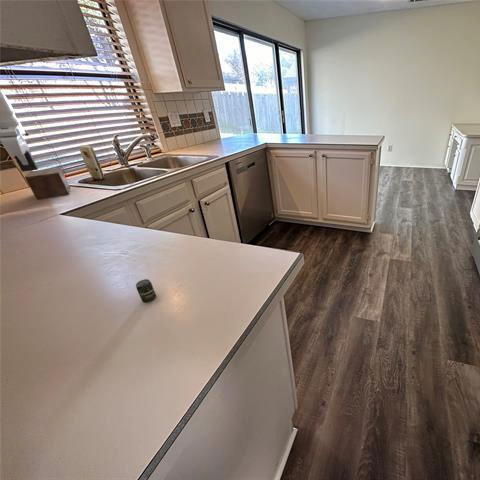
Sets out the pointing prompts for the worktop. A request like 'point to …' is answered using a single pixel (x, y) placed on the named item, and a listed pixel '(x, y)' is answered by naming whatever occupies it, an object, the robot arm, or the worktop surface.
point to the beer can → (145, 290)
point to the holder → (31, 161)
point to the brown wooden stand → (48, 183)
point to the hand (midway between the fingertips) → (27, 163)
